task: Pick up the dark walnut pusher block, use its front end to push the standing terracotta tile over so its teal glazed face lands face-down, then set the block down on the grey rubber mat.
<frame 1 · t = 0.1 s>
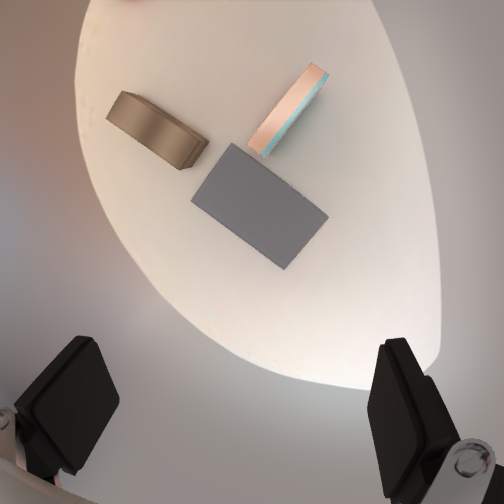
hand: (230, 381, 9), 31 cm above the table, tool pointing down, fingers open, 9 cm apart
tile: (287, 118, 35), on the table
mat: (259, 207, 39), on the table
pusher block: (164, 129, 37), on the table
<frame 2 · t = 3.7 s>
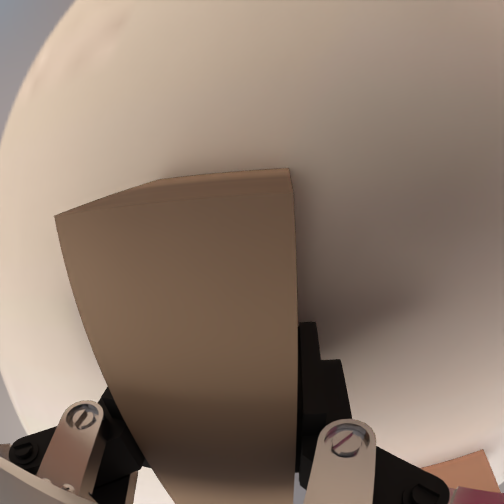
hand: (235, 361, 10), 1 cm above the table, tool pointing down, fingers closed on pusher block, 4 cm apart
tile: (416, 475, 14), on the table
pusher block: (239, 344, 11), on the table, touching gripper
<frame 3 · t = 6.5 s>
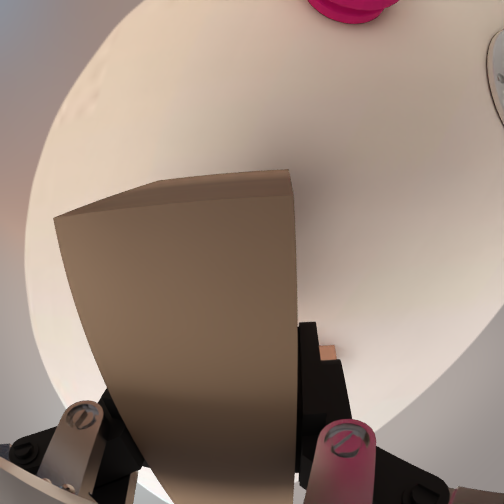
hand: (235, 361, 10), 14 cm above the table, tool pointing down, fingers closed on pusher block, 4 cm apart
pusher block: (239, 345, 11), point 13 cm above the table, touching gripper
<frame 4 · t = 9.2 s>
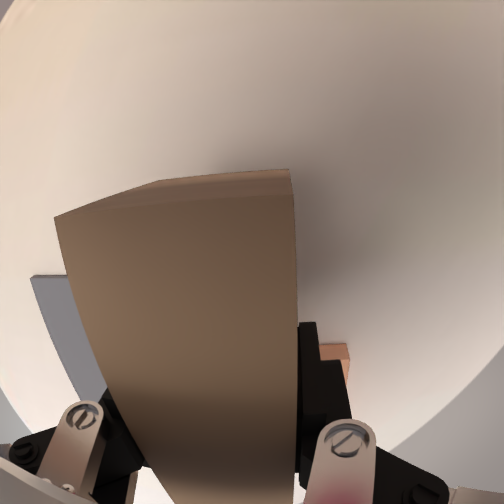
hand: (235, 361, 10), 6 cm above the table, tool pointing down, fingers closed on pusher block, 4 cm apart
tile: (258, 351, 17), on the table, tilted 90°
mat: (110, 370, 20), on the table
pusher block: (239, 344, 11), point 5 cm above the table, touching gripper
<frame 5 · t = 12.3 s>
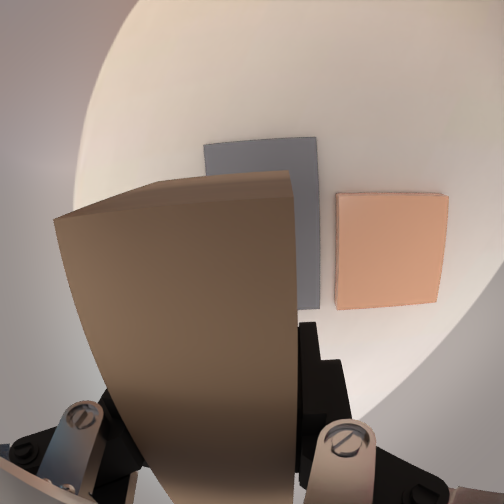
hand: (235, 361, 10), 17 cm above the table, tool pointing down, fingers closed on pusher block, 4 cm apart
tile: (394, 193, 24), on the table, tilted 90°
mat: (265, 229, 26), on the table
pusher block: (239, 345, 11), point 16 cm above the table, touching gripper
when the fingers open (3 cm above the table, at t = 15.2 s): pusher block drops 1 cm, resting on mat.
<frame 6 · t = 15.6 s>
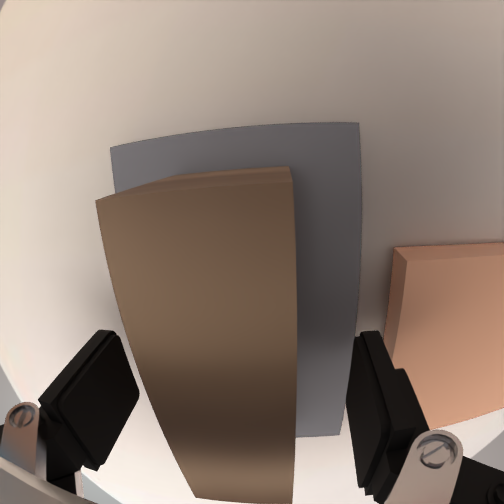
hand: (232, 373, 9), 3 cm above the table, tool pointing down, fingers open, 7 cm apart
tile: (496, 246, 10), on the table, tilted 90°
mat: (245, 319, 13), on the table
pusher block: (244, 324, 12), resting on mat
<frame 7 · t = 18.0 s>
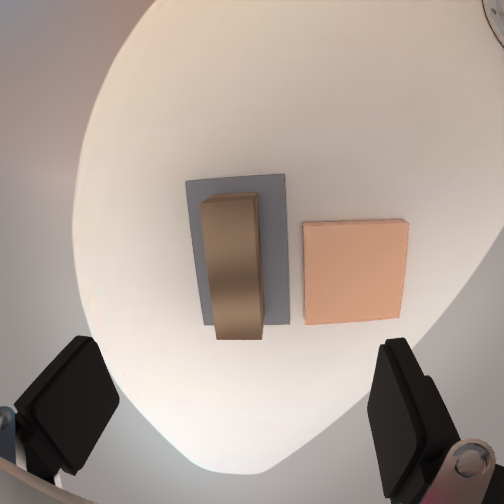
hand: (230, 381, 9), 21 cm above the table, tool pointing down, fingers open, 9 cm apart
tile: (356, 222, 27), on the table, tilted 90°
mat: (240, 255, 30), on the table
pusher block: (240, 256, 29), resting on mat
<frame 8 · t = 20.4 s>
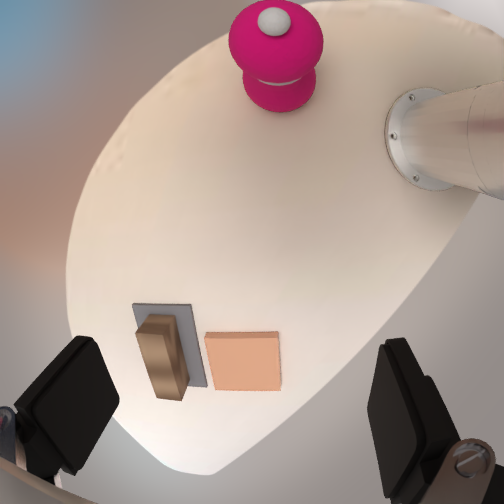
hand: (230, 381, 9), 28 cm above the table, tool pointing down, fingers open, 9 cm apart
tile: (241, 334, 41), on the table, tilted 90°
pepper mill: (280, 86, 31), on the table
mat: (171, 347, 44), on the table
pusher block: (170, 349, 44), resting on mat
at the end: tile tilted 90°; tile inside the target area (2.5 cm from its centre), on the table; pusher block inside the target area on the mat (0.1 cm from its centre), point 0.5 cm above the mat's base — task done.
